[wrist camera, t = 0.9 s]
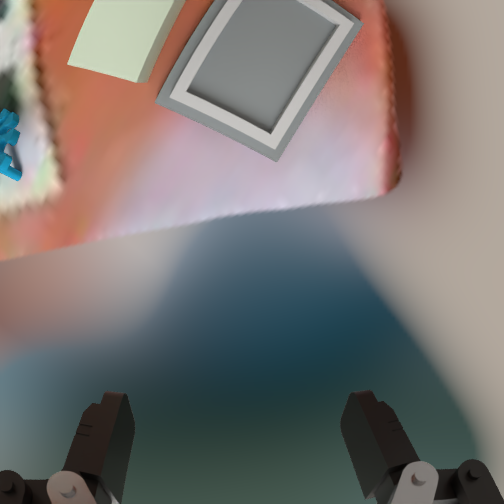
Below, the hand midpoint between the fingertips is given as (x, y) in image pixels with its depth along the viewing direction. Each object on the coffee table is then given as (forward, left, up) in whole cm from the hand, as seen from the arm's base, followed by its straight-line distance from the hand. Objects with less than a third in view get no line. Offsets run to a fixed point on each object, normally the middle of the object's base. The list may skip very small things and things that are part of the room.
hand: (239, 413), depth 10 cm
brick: (-13, +11, -23) cm, 29 cm away
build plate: (-2, +13, -23) cm, 26 cm away
